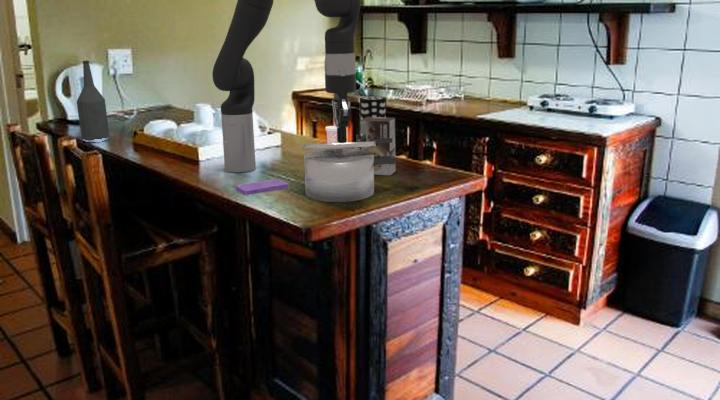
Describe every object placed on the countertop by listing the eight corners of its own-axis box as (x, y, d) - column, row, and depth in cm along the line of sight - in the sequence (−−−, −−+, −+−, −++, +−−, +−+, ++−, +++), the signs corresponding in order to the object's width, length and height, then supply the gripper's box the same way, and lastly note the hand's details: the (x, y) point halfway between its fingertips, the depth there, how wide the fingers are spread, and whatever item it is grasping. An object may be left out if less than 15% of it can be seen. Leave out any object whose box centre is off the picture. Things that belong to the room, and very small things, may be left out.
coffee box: (396, 171, 186) (396, 117, 182) (390, 176, 181) (390, 120, 176) (367, 169, 189) (367, 116, 185) (360, 173, 183) (359, 119, 179)
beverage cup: (323, 154, 210) (322, 113, 206) (330, 151, 215) (329, 110, 211) (339, 155, 208) (338, 113, 204) (347, 152, 213) (346, 111, 209)
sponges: (288, 190, 169) (288, 183, 168) (244, 197, 163) (244, 190, 162) (278, 184, 175) (278, 178, 174) (235, 191, 168) (235, 184, 168)
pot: (310, 204, 154) (308, 164, 151) (301, 185, 171) (300, 150, 168) (403, 197, 159) (404, 159, 156) (386, 180, 176) (386, 145, 173)
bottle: (76, 141, 237) (65, 61, 229) (98, 137, 245) (88, 59, 237) (93, 144, 232) (82, 61, 223) (115, 139, 240) (106, 60, 231)
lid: (306, 150, 150) (305, 136, 149) (298, 149, 169) (297, 137, 168) (401, 145, 154) (400, 131, 154) (382, 145, 173) (382, 133, 173)
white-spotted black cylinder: (359, 158, 204) (358, 96, 198) (384, 157, 205) (384, 96, 199) (361, 163, 196) (360, 100, 190) (387, 163, 197) (387, 99, 191)
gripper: (320, 70, 157) (323, 138, 162) (329, 75, 145) (331, 148, 150) (350, 69, 159) (351, 137, 163) (361, 74, 146) (362, 146, 151)
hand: (342, 142), depth 157 cm, fingers closed
